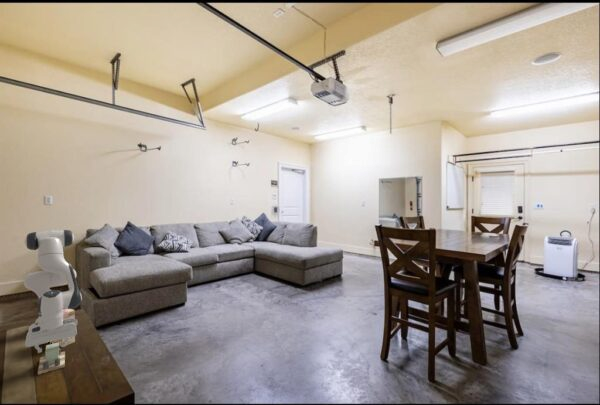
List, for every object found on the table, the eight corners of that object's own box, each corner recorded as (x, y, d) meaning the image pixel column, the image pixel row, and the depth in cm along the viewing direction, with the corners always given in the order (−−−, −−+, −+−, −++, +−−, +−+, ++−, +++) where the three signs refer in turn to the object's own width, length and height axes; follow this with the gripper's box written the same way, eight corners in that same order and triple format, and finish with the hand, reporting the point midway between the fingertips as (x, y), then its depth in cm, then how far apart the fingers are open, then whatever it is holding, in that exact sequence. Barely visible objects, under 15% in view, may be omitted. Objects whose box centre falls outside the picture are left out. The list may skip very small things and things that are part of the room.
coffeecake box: (46, 342, 167) (46, 310, 167) (60, 337, 174) (60, 305, 174) (61, 347, 162) (61, 314, 161) (75, 341, 168) (75, 309, 168)
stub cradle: (40, 360, 148) (40, 352, 148) (64, 354, 155) (64, 346, 155) (37, 374, 136) (37, 365, 136) (64, 367, 143) (64, 358, 143)
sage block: (46, 358, 148) (46, 345, 148) (58, 355, 151) (58, 342, 151) (45, 366, 141) (45, 352, 141) (58, 362, 144) (58, 349, 144)
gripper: (77, 315, 155) (77, 340, 155) (25, 326, 142) (26, 353, 142) (77, 319, 150) (77, 345, 150) (24, 330, 137) (24, 358, 137)
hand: (52, 349), depth 146 cm, fingers open, 8 cm apart
